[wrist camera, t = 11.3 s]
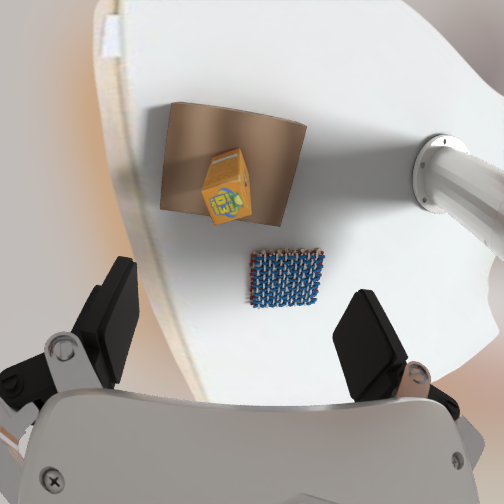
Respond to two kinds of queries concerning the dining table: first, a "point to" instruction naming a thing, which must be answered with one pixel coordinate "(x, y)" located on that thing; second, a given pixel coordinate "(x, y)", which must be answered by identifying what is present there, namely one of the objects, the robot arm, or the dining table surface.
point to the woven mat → (285, 277)
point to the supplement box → (227, 188)
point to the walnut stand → (224, 140)
